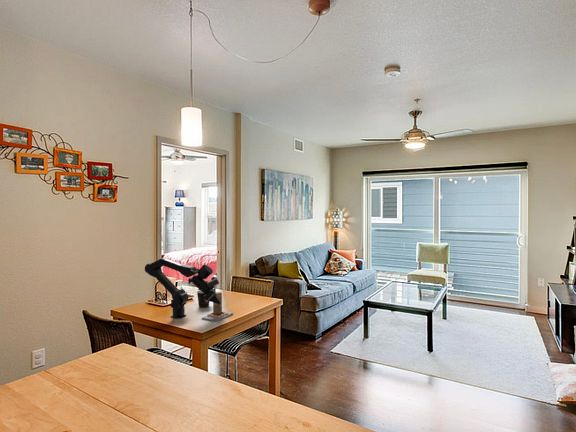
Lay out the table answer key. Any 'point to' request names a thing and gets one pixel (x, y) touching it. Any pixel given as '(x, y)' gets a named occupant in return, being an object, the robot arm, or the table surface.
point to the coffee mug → (202, 300)
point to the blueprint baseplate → (217, 318)
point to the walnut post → (217, 307)
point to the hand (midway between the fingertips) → (220, 301)
